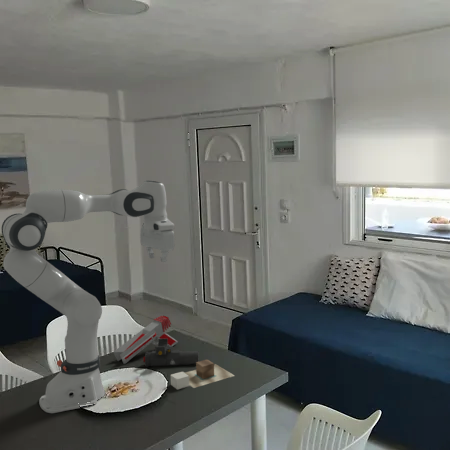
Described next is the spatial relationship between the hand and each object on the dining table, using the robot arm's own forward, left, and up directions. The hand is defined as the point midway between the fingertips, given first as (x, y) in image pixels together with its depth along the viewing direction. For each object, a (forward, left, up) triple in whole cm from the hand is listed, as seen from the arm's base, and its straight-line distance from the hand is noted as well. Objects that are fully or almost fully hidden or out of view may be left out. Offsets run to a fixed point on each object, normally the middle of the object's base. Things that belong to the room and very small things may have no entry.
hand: (157, 259), depth 196 cm
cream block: (0, -14, -46) cm, 48 cm away
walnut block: (+12, -12, -45) cm, 48 cm away
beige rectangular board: (+12, -12, -46) cm, 49 cm away
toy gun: (+5, +25, -46) cm, 53 cm away
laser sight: (+7, +7, -46) cm, 48 cm away
